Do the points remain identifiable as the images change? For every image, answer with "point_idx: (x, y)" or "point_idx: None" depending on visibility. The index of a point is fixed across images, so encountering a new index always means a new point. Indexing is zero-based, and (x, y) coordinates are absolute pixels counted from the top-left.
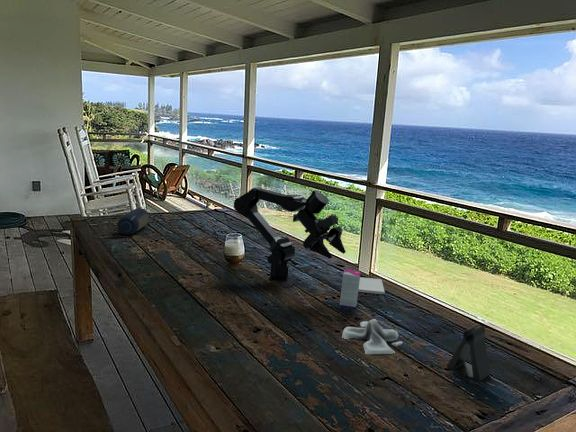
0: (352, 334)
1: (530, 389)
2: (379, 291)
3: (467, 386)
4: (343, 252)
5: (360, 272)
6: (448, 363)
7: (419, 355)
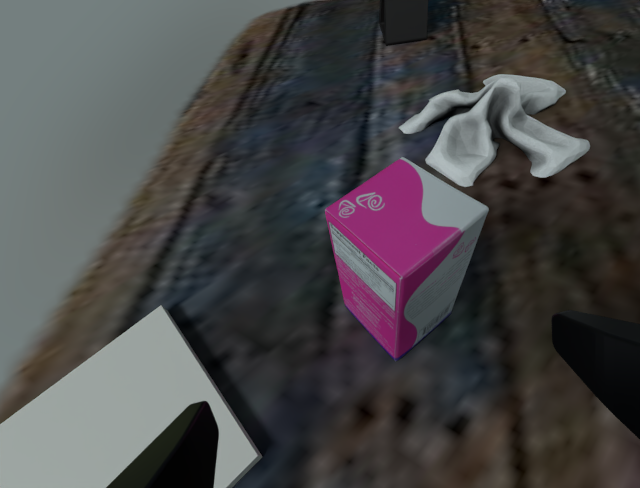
0: (559, 132)
1: (364, 3)
2: (171, 320)
3: (443, 14)
4: (211, 431)
5: (336, 201)
6: (426, 30)
7: (441, 65)
